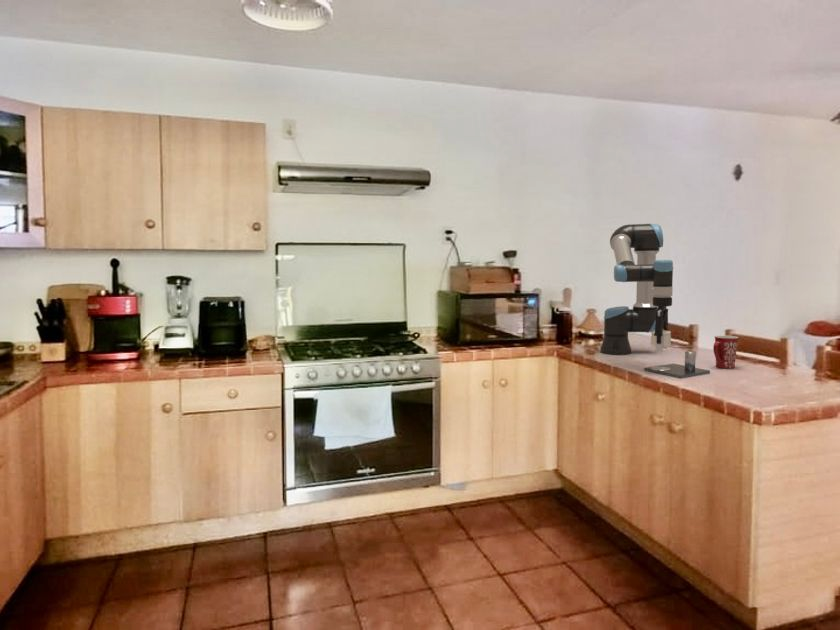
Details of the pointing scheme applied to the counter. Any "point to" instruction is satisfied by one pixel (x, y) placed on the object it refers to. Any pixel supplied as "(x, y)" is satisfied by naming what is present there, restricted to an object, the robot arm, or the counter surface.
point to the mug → (725, 351)
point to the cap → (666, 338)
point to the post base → (680, 368)
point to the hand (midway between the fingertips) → (661, 349)
